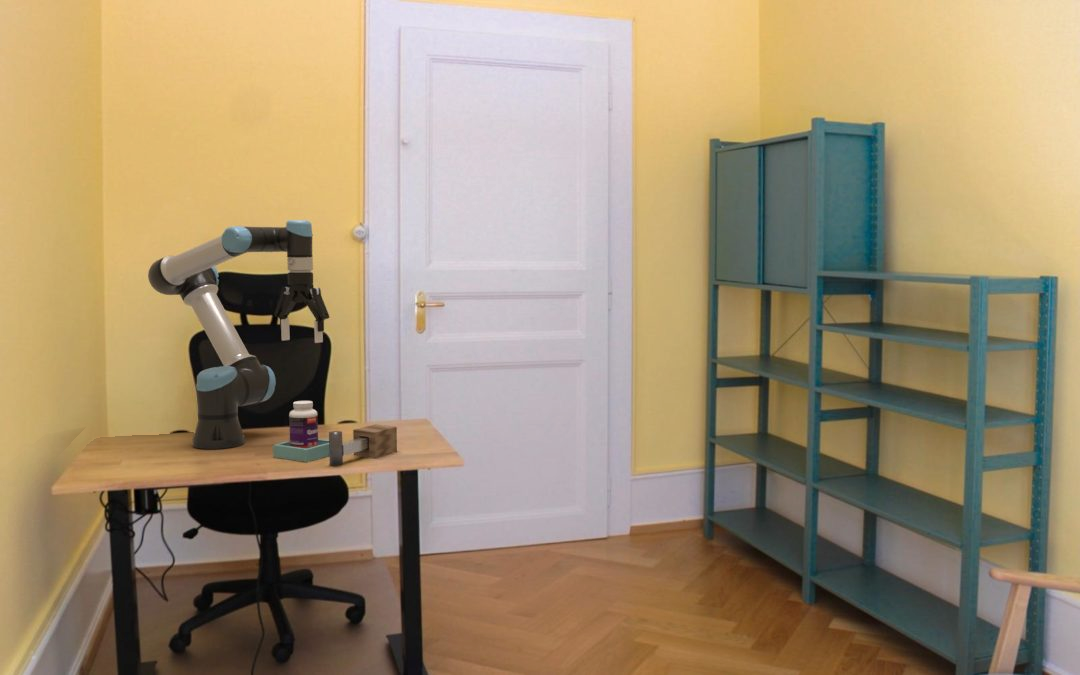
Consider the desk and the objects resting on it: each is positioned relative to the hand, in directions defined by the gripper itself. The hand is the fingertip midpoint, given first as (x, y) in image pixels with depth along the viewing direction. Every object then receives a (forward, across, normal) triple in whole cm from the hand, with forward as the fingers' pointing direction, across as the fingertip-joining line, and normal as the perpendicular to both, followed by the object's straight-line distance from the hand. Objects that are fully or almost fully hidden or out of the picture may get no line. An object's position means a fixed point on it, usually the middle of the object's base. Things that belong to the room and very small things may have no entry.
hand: (302, 341), depth 292 cm
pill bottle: (+31, +11, -12) cm, 35 cm away
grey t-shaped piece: (+31, +28, -10) cm, 43 cm away
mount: (+32, +28, 0) cm, 42 cm away
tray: (+32, +12, -12) cm, 36 cm away
